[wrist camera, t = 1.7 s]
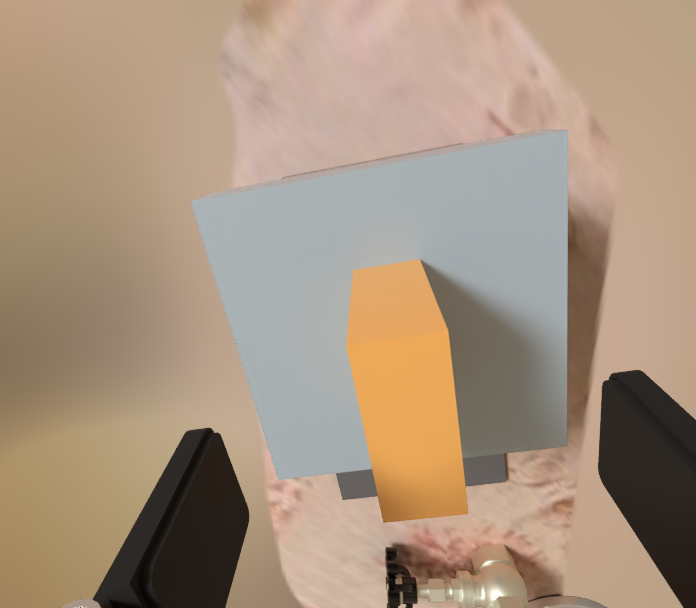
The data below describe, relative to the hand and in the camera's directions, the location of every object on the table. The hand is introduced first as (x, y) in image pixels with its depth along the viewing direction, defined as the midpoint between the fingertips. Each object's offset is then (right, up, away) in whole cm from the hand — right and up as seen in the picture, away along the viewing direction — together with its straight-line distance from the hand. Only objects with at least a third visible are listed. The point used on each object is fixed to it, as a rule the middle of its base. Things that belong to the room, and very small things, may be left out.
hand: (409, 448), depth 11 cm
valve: (+8, -20, +31) cm, 37 cm away
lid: (0, +3, +9) cm, 9 cm away
